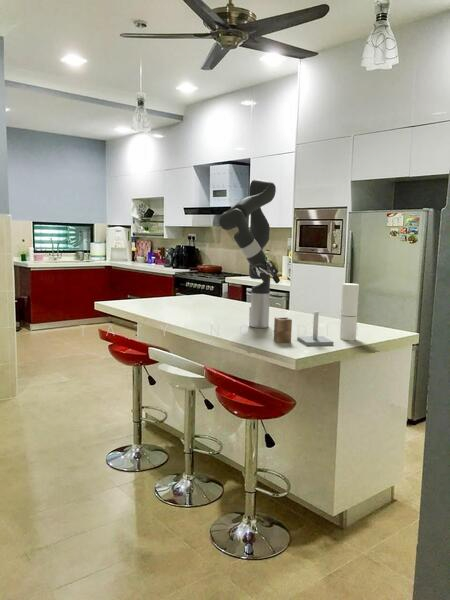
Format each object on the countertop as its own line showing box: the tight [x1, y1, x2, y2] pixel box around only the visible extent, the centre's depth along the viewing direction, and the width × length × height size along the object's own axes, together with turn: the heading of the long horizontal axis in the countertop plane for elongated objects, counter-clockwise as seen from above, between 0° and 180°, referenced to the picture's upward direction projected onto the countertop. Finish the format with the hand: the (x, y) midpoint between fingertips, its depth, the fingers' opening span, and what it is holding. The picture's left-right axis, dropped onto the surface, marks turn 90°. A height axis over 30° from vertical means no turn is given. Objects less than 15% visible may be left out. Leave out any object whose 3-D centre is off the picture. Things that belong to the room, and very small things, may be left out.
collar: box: [273, 316, 293, 344], centre depth 213 cm, size 6×6×10 cm
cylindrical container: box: [339, 282, 360, 341], centre depth 220 cm, size 7×7×25 cm
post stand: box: [296, 311, 335, 347], centre depth 212 cm, size 12×12×14 cm
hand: (272, 281), depth 208 cm, fingers open, 8 cm apart
